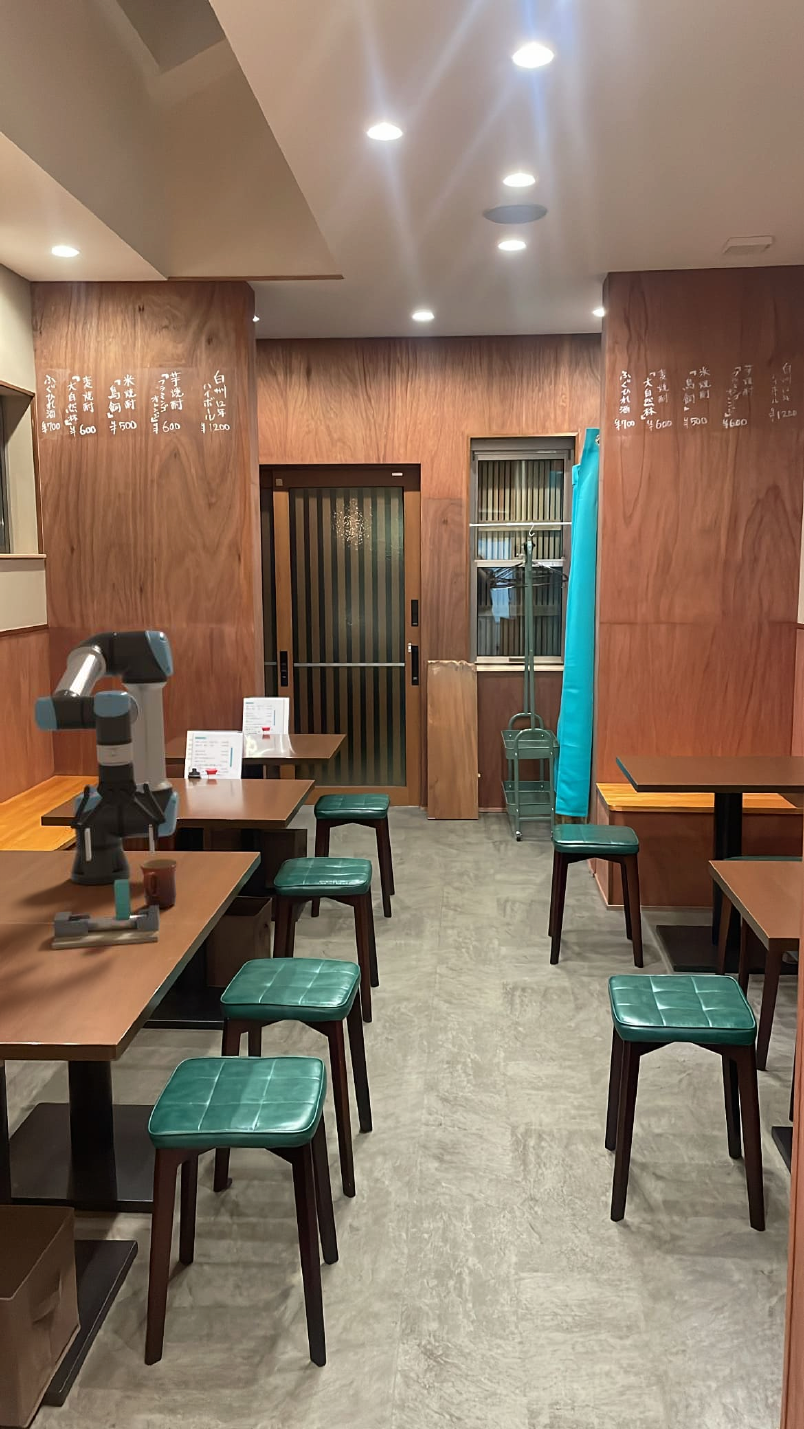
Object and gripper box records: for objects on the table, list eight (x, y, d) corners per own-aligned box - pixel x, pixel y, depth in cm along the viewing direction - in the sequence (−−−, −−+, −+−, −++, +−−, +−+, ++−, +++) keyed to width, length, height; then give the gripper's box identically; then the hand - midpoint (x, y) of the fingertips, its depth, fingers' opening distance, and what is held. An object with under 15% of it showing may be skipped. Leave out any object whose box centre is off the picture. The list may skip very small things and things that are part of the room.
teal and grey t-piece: (80, 929, 237) (77, 882, 236) (149, 924, 240) (147, 877, 238) (79, 934, 234) (76, 886, 233) (149, 928, 237) (146, 881, 236)
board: (60, 928, 242) (60, 923, 242) (160, 921, 246) (160, 916, 246) (52, 949, 228) (52, 944, 228) (157, 941, 232) (157, 936, 232)
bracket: (58, 929, 238) (57, 912, 237) (90, 927, 239) (89, 910, 238) (54, 938, 232) (53, 920, 232) (88, 935, 233) (87, 918, 233)
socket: (139, 923, 241) (138, 906, 240) (159, 922, 242) (158, 904, 241) (137, 932, 235) (136, 914, 234) (158, 930, 236) (157, 913, 235)
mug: (151, 898, 263) (149, 858, 262) (185, 900, 261) (183, 859, 260) (129, 914, 251) (127, 871, 250) (164, 915, 250) (162, 873, 248)
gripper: (53, 768, 227) (59, 865, 230) (173, 762, 231) (178, 857, 234) (58, 761, 234) (64, 856, 237) (174, 756, 238) (178, 848, 242)
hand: (120, 857), depth 236 cm, fingers open, 13 cm apart
